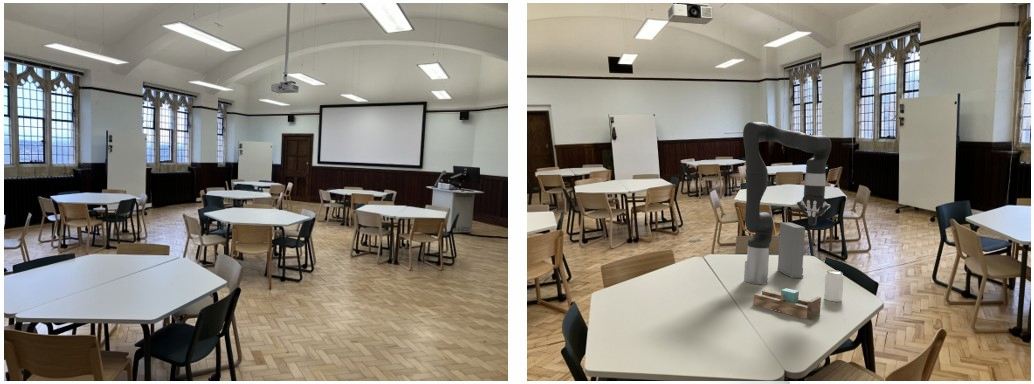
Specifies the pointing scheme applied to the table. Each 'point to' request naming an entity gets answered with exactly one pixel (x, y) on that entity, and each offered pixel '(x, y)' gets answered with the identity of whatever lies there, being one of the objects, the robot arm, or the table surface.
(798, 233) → the tall upright block
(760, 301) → the wooden tray
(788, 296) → the rider
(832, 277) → the can
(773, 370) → the table surface
